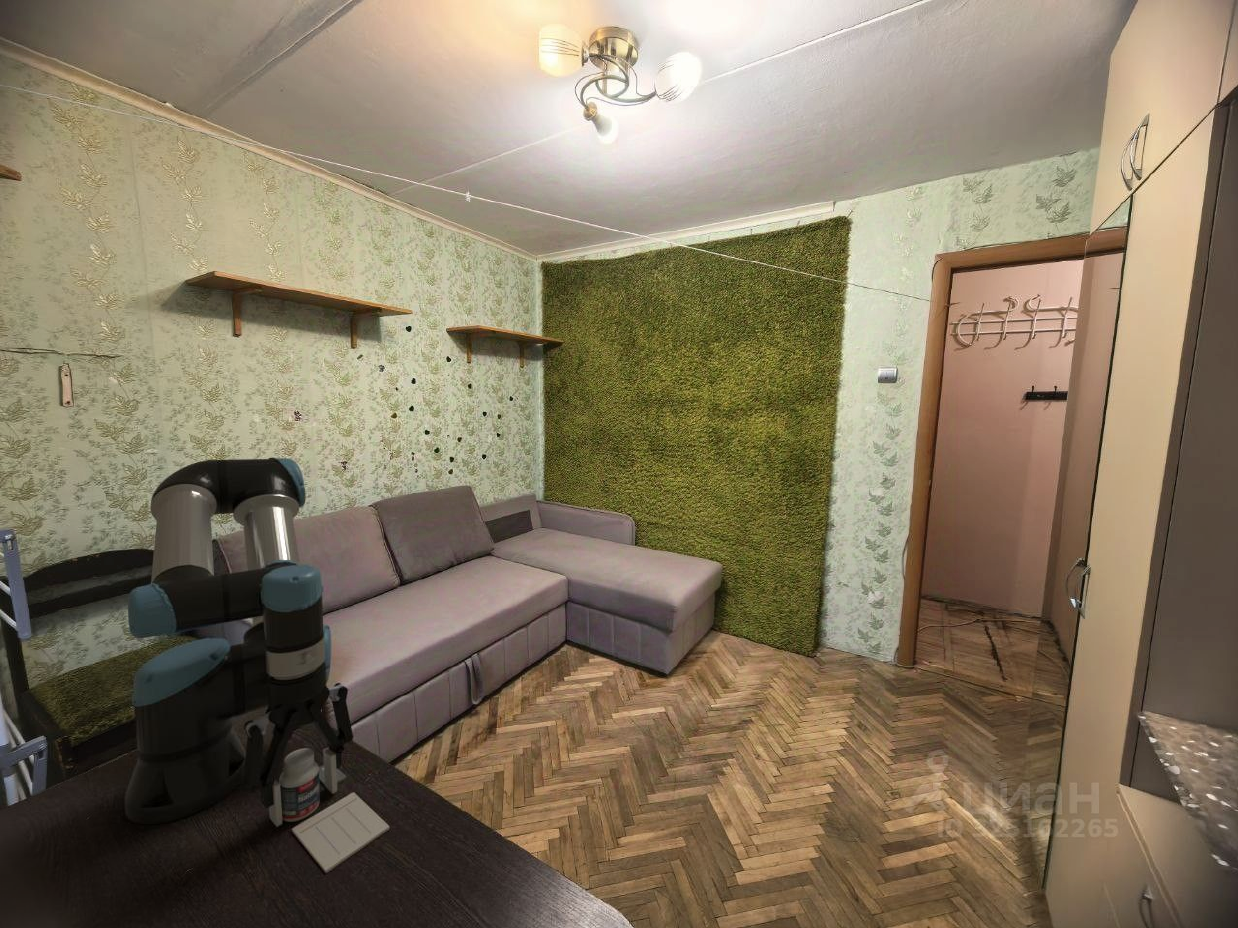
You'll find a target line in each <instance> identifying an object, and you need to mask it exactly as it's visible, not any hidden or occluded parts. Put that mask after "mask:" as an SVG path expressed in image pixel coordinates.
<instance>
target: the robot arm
mask: <svg viewBox="0 0 1238 928" xmlns="http://www.w3.org/2000/svg"><path fill="white" fill-rule="evenodd" d="M303 476H304V475H303V474H302V470H301V468H300V466H299V464H298V463H297V462H296V461H295V460H294V459H292V458H285V457H283V458H277V457H269V458H254V459H253V458H251V459H250V458H244V459H243V458H241V459H239V458H238V459H206V460H201V461H197V462H192V463H191V464H189V465H186V466H183V467H181V468H180V469H178V470H176V471H174V472H173V473H171V474H170V475H168V476H167V477H166V478H165V479H163V480H162V482H160V484H158V486H157V487H156V488H155V490H154V491H153V494H152V495H151V499H150V513H151V516H152V517H153V518H154V520H156V525H155V535H154V547H153V556H152V558H153V560H152V568H151V569H152V570H151V578H150V579H151V580H150V583H148V584H146V585H141V586H136V587H134V588H133V589H132V590H131V591H130V593H129V594H128V601H127V602H128V603H127V619H128V626H129V633H130V634H131V636H132V637H134V638H136V639H146V638H152V637H158V636H171V635H175V634H178V633H183V632H187V631H192V630H197V629H202V628H207V627H211V626H216V625H220V624H221V625H222V624H225V623H233V622H237V621H238V622H239V621H242V620H248V619H252V620H251V621H252V624H251V625H250V626H249V627H248V628H247V629H246V630H245V631H244V632H243V637H242V638H243V643H238V644H234V645H233V644H232V645H231V644H230V643H229V642H228V640H227V639H225V638H223V637H213V638H210V637H207V638H200V639H196V640H193V641H189V642H186V643H185V642H184V643H183V644H180V645H177V646H174V647H172V648H169V649H168V650H165V651H163V652H160V653H159V654H158V655H155V656H153V657H152V658H151V659H149V660H148V661H146V662H145V663H144V664H142V666H140V668H139V669H138V670H137V671H136V674H135V675H134V678H133V694H132V695H133V696H132V698H131V705H133V707H134V717H135V718H134V721H135V733H136V734H135V735H136V748H137V750H136V751H137V761H136V764H135V766H134V769H133V771H132V775H131V777H130V781H129V783H128V786H127V788H126V792H125V795H124V811H125V816H126V818H127V819H128V820H129V821H131V822H133V823H135V824H140V825H156V824H158V825H159V824H164V823H169V822H172V821H176V820H180V819H184V818H185V817H188V816H191V815H193V814H195V813H196V814H197V813H198V812H200V811H203V810H204V809H206V808H208V807H211V806H213V805H214V804H216V803H217V802H219V801H220V800H222V799H223V798H225V797H226V796H227V795H229V794H230V793H231V792H233V791H234V790H235V789H236V788H237V786H238V787H239V785H240V784H241V783H242V782H243V786H244V787H245V788H246V789H247V790H248V792H249V793H250V794H254V793H255V794H256V792H257V791H259V792H260V795H259V796H260V802H261V804H262V806H264V808H265V809H268V811H269V812H268V813H269V814H268V815H269V819H270V820H271V822H272V823H273V825H275V827H276V828H278V827H279V826H281V825H283V820H282V808H281V791H280V784H279V780H277V779H276V778H277V776H278V773H279V769H280V766H281V764H282V761H283V757H284V755H285V752H286V748H287V746H288V743H289V741H290V740H291V739H292V736H293V733H294V731H297V730H299V729H300V728H302V727H303V726H306V725H310V724H311V723H313V724H314V726H315V728H316V729H317V730H318V732H319V733H320V736H321V737H322V738H323V740H324V741H325V743H326V744H327V746H328V747H326V748H324V749H322V752H323V753H322V754H323V765H324V777H325V785H324V787H325V788H326V789H327V790H328V791H329V792H330V793H331V794H332V795H333V794H335V793H336V792H338V783H337V772H336V769H339V768H341V767H342V764H343V762H342V759H343V758H342V754H343V753H344V751H345V749H346V748H345V744H347V743H351V742H352V741H353V739H354V734H353V729H352V724H351V719H350V715H349V708H348V704H347V699H348V691H349V689H348V688H347V686H345V685H343V684H342V683H340V682H336V683H335V684H334V685H333V686H330V687H328V686H327V684H328V681H329V677H330V672H331V661H332V660H331V659H332V633H331V627H330V626H329V624H324V612H323V611H324V609H323V593H324V585H323V584H322V577H321V571H320V570H319V568H317V567H316V566H313V565H312V566H311V565H309V564H301V562H300V557H299V556H300V555H299V551H298V544H297V539H296V531H295V525H294V518H295V517H296V516H297V515H298V514H299V512H300V508H302V507H304V506H305V503H306V498H307V496H306V495H307V493H306V488H305V484H304V483H305V481H304V477H303ZM226 514H227V515H228V514H229V515H230V514H232V517H233V519H234V521H235V522H237V523H238V524H239V525H241V526H243V534H244V545H245V556H246V567H247V570H244V571H237V572H230V573H222V574H215V569H214V568H215V567H214V566H215V565H214V553H213V551H214V550H213V549H214V548H213V535H212V534H213V533H212V531H213V530H212V520H211V519H212V517H213V516H214V515H226ZM329 699H330V700H331V703H332V704H331V705H332V708H333V713H334V718H335V722H336V723H335V724H336V727H337V733H338V735H336V733H335V732H334V730H333V729H332V727H331V725H330V724H329V722H328V721H327V718H326V716H325V715H324V713H323V711H322V710H323V708H324V706H325V705H326V702H327V701H328V700H329ZM263 709H266V710H265V714H264V715H263V716H261V717H259V718H258V719H256V720H252V719H251V720H248V721H246V722H245V723H244V724H243V728H244V730H245V734H246V736H247V739H246V741H247V742H246V749H245V747H244V746H243V743H242V742H241V741H240V738H239V737H238V735H237V733H236V731H235V729H234V726H233V724H234V723H233V718H236V717H239V716H242V715H246V714H250V713H254V712H257V711H259V710H263ZM270 723H271V724H273V725H274V727H273V729H272V738H271V741H270V744H269V747H268V750H267V752H266V755H265V758H264V762H262V761H263V751H264V735H265V734H266V733H267V727H268V724H270ZM262 763H263V764H262Z"/></svg>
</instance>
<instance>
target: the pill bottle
mask: <svg viewBox="0 0 1238 928" xmlns="http://www.w3.org/2000/svg"><path fill="white" fill-rule="evenodd" d="M319 767H320V765H319V764H318V762H316V761H315V751H314V750H313V749H312V748H309V747H304V748H299V749H297V750H293V751H292V752H290V753H289V754H287V755H286V756H285V757H284V759H283V771H282V772H281V774H280V776H279V778H278V779H279V780H278V783H279V784H280V791H281V808H282V821H285V822H287V823H289V822H290V823H291V822H298V821H301V820H303V819H306V818H307V817H309V816H310V815H312V814H313V813H314V812H315V811H317V809H318V808H319V806H320V800H321V799H320V796H321V794H320V793H321V792H320V780H319Z"/></svg>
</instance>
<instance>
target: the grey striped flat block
mask: <svg viewBox="0 0 1238 928" xmlns="http://www.w3.org/2000/svg"><path fill="white" fill-rule="evenodd" d="M336 772H337V784H339V783H341V782H343V781H344V780H346V779H347V778H348V777H347V775H346V774H344V772H342V771H341V770H340V769H339V768H338V769H336ZM319 782H321V783H322V784H323V786H325V777H324V764H323V765H321V766H320V765H319Z"/></svg>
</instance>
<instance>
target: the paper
mask: <svg viewBox="0 0 1238 928" xmlns="http://www.w3.org/2000/svg"><path fill="white" fill-rule="evenodd" d="M389 830H390V826H389V825H388V823H387V822H385V821H384V820H383V819H382V818H381V817H380V816H379V815H378V814H377V813H376V812H375V811H374V810H373V809H372V808H371V807H370V806H369V805H368V804H367V803H366V802H364V801H363V799H362V798H360V796H359V795H358V794H356V793H355V792H351V793H349V794H348V795H346V796H345V797H343V798H341V799H339V800H338V801H336V802H334V803H333V804H331V805H329V806H327V807H326V808H324V809H323V810H321V811H320V812H318V813H316V814H314V815H313V816H311V817H309V818H308V819H305V820H304V821H303V822H301V823H299V824H298V825H296V826H294V827H293V828H291V832H292V833H293V834H294V835H295V837H296V838H297V840H298V841H299V842H300V843H301V845H303V847H304V848H305V849H306V851H308V853H309V854H310V856H311V857H312V858H313V859H314V860H315V862H316V863H317V864H318V865H319V867H320V868H321V869H322V870H323V872H325V874H327V873H329V872H330V871H331V870H333V869H334V868H336V867H337V866H339V865H340V864H342V863H343V862H344V861H346V860H347V859H348V858H350V857H351V856H353V855H354V854H356V853H357V852H358V851H360V850H361V849H363V848H364V847H366V846H367V845H368V844H370V843H372V842H373V841H374V840H376V839H377V838H378V837H380V836H382V835H383V834H384V833H386V832H387V831H389Z"/></svg>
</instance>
